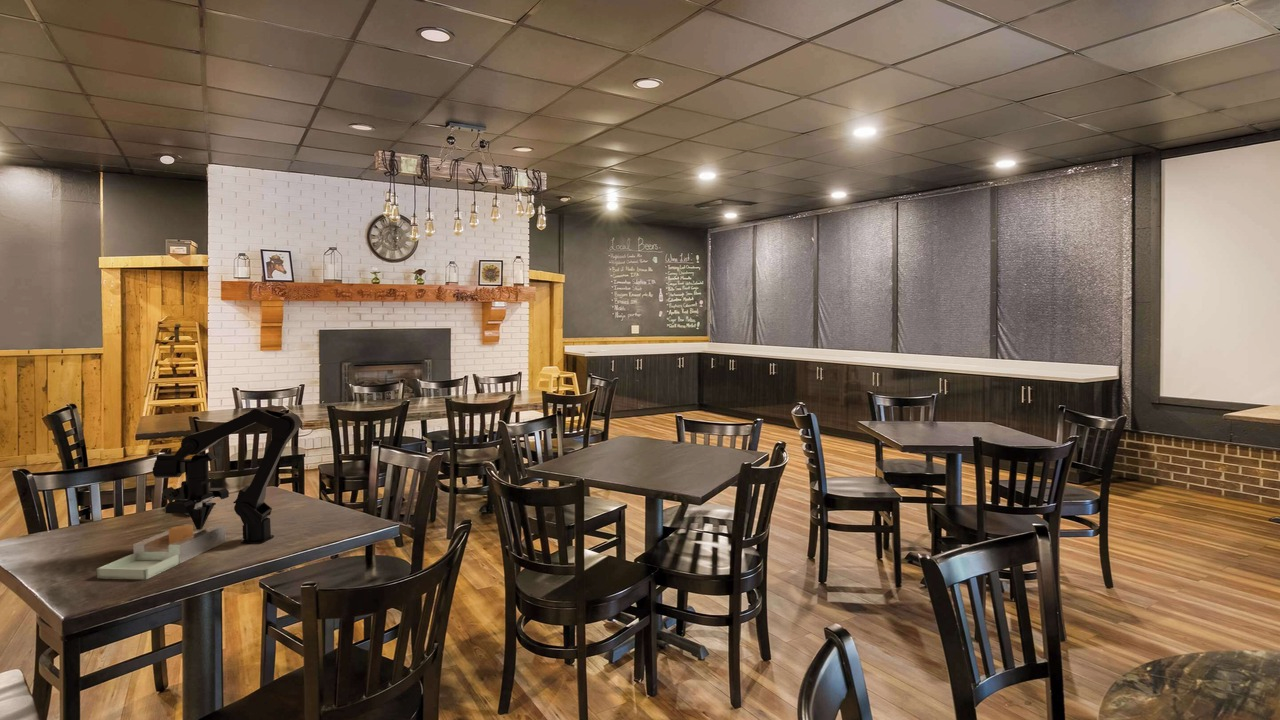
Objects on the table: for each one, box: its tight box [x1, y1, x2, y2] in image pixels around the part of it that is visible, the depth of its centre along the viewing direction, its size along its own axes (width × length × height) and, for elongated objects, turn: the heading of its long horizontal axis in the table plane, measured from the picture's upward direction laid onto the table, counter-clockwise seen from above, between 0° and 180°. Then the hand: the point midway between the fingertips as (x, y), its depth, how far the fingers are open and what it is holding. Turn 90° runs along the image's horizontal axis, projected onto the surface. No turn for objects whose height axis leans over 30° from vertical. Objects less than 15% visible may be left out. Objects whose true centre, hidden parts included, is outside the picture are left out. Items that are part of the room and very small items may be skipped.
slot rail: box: [133, 524, 227, 564], centre depth 191 cm, size 13×18×5 cm
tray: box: [96, 553, 180, 580], centre depth 176 cm, size 13×11×2 cm
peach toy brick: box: [168, 524, 194, 543], centre depth 190 cm, size 4×4×4 cm
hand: (199, 529), depth 197 cm, fingers closed
